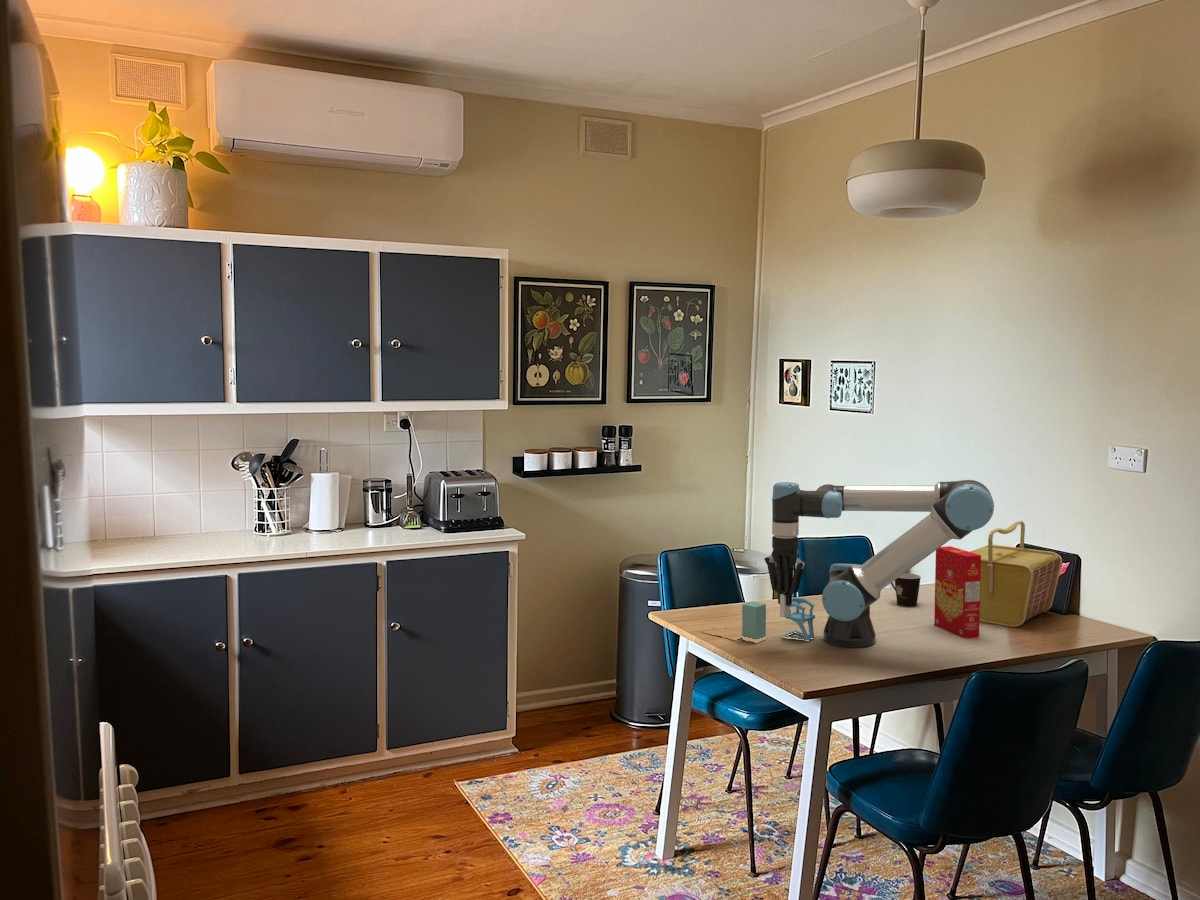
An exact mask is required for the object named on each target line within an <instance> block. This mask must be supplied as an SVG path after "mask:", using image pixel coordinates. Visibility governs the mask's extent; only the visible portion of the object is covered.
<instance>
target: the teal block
mask: <svg viewBox="0 0 1200 900" xmlns="http://www.w3.org/2000/svg"><path fill="white" fill-rule="evenodd" d="M741 605H742V606H741V608H742V610H741V614H742V615H741V616H742V617H741V618H742V620H741V624H742V625H741V628H742V629H741V631H742V636H744V637H748V638H752V639H755V640H756V639H760V638H763V637H765V636H766V637H767V621H766V620H767V604H766V603H762V602H757V601H748V602H746V603H743V604H741Z"/></svg>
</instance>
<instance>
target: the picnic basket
mask: <svg viewBox="0 0 1200 900" xmlns="http://www.w3.org/2000/svg"><path fill="white" fill-rule="evenodd" d="M1019 525H1020V539H1019V540H1020V541H1019V547H1015V546H1008V545H999V544H993V542H994V541H993V539H994V535H995V534H996V533H999V534H1001V535H1007V534H1010V533H1012V532H1014V531H1015V530H1016V529H1017V527H1018V526H1019ZM1025 531H1026V524H1025V523H1024V521H1023V520H1017V521H1015V522H1014V523H1012V524H1010V526H1008V527H1007V528H994V529H992V530H990V532H989V534H988V539H987V541H988V544H987V545H985V546H981V547H979V548H976V549H974V550H971V551H969V552H972V553H975V554H979V555H981V582H980V622H982V623H988V624H993V625H998V626H999V625H1000V626H1003V627H1004V626H1005V627H1010V628H1017V627H1020V626H1021V625H1024V622H1026V621H1028V620H1030V619H1032V618H1033V617H1035V616H1037V615H1039V614H1041V613H1043V612H1047V611H1049V610H1050V609H1051V608H1052V605H1053V602H1054V597H1055V594H1056V590H1057V586H1058V581H1059V578H1060V573H1061V569H1062V565H1063V558H1062V557H1061V555H1060V554H1058V553H1056V552H1054V551H1049V550H1042V549H1041V550H1039V549H1031V548H1025V536H1026V535H1025V534H1026V532H1025Z"/></svg>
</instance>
